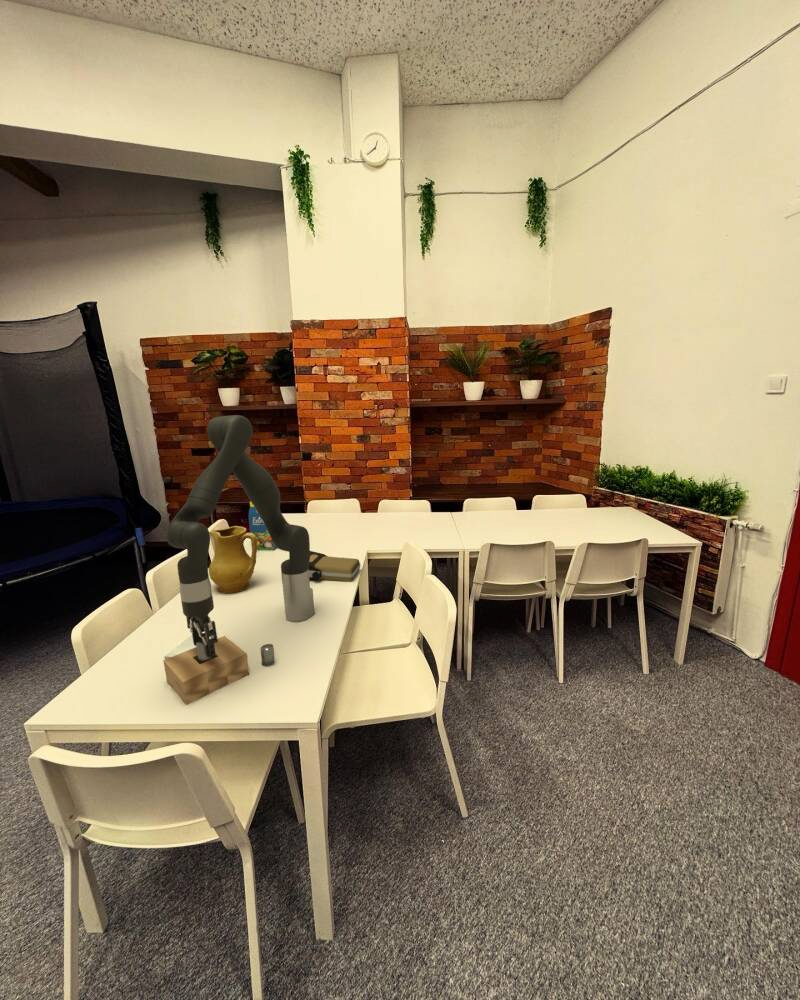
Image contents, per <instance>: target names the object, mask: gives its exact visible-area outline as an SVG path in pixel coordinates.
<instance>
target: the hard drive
mask: <svg viewBox="0 0 800 1000" xmlns="http://www.w3.org/2000/svg"><path fill="white" fill-rule="evenodd" d="M205 637H206V636H205ZM209 639H211V637H209ZM195 647H196V646H195V645H194V644H193V637H192V635H190V636H189V637H188V638H186V639H185V640H184V641H182V642H181V643H180V644H179V645H177V646H176V647H175V648H173V649H172V650H171V651H170V652H169V653H167V654H166V655H165V656H164V660H165V659H168V658H170V657H173V656H175V655H178V654H180V653H183V652H185V651H188V650H190V649H193V648H195Z"/></svg>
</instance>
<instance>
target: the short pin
mask: <svg viewBox="0 0 800 1000" xmlns="http://www.w3.org/2000/svg"><path fill="white" fill-rule="evenodd" d="M260 657H261V665H262V666H263V667H271V666H273V665H274V664H275V663H276V660H275V659H276V658H275V650H274V644H272V643H266V644H263V645H261V647H260Z"/></svg>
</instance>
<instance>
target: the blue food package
mask: <svg viewBox="0 0 800 1000" xmlns="http://www.w3.org/2000/svg"><path fill="white" fill-rule="evenodd" d="M248 524H249V525H248V527H249V533H253V534H255V535H256V538H257V551H275V550H276V549H278V548H277V547H276V546H275V544H274V543H273V541H272V539H271V537H270V534H269V532H268V530H267V528H266V525H265V524H264V522H263V520H262V518H261V517H260V515H259V513H258V512H257V510H256V508H255V507H254V505H253V504H252V502H251V501H249V509H248ZM250 542H251V544H250V545H251V546H252V541H251V540H250Z"/></svg>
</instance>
